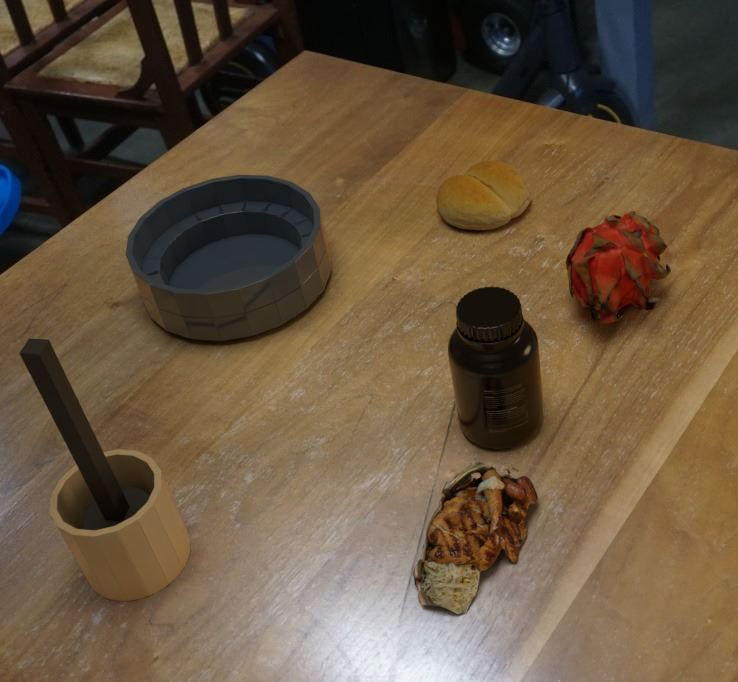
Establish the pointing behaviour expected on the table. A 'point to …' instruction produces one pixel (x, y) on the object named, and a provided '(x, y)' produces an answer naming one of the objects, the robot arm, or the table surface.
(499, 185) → the bread roll
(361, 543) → the table surface
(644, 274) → the dragon fruit
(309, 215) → the bowl
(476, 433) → the supplement bottle
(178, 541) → the crock
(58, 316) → the table surface
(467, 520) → the brown food piece
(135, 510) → the long black rod
